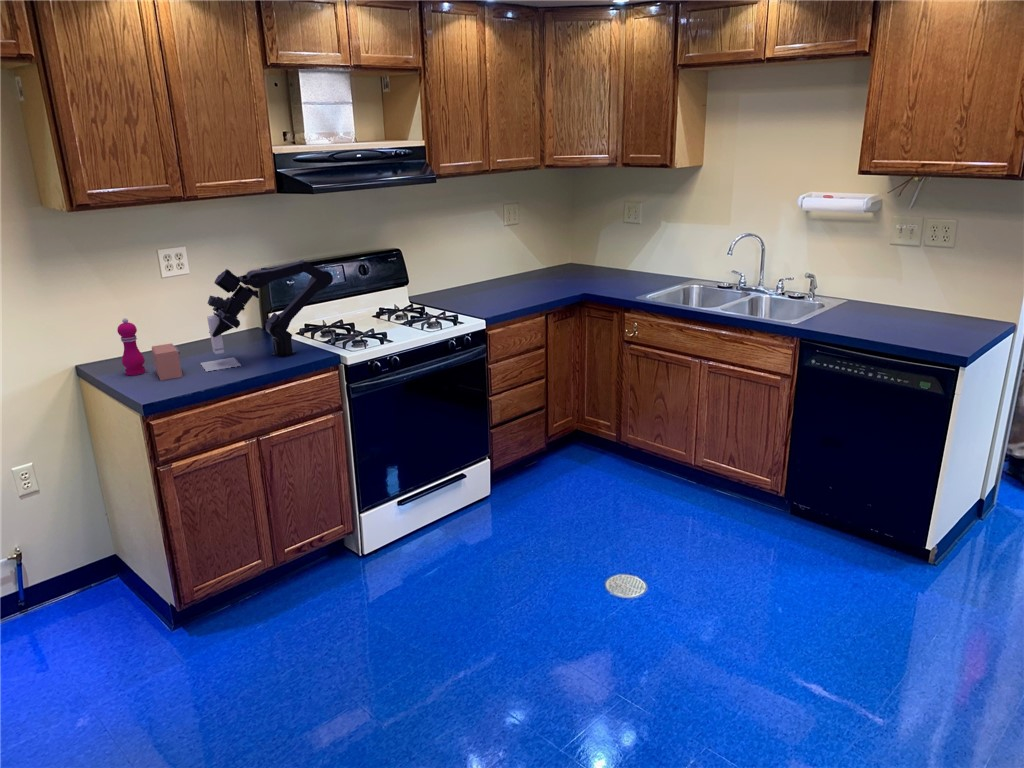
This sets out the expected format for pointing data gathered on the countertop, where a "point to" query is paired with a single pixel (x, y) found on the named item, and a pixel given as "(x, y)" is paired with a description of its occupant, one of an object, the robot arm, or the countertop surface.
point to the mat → (220, 364)
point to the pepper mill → (130, 349)
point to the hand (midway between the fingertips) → (211, 334)
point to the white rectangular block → (216, 341)
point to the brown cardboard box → (167, 361)
